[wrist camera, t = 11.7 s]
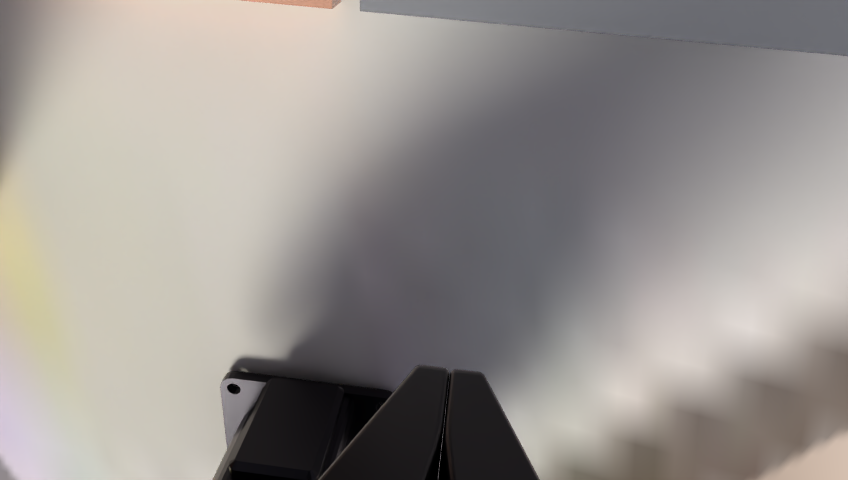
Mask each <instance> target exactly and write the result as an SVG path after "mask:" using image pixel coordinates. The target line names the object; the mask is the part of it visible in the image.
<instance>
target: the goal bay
mask: <svg viewBox="0 0 848 480" xmlns="http://www.w3.org/2000/svg"><path fill="white" fill-rule="evenodd" d="M242 1H252V2H263V3H274V4H285V5H296V6H307V7H318V8H329V9H333V8H334V7H335V6H336V5H338V4H339V3H340V2H341V0H242Z"/></svg>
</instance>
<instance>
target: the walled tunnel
mask: <svg viewBox="0 0 848 480" xmlns="http://www.w3.org/2000/svg"><path fill="white" fill-rule="evenodd" d="M360 11H365V12H376V13H386V14H397V15H408V16H419V17H430V18H441V19H452V20H462V21H473V22H484V23H495V24H506V25H517V26H528V27H539V28H549V29H560V30H571V31H582V32H593V33H604V34H615V35H626V36H636V37H647V38H658V39H669V40H680V41H691V42H702V43H712V44H723V45H734V46H745V47H756V48H767V49H778V50H789V51H799V52H810V53H821V54H832V55H843V56H848V0H360Z"/></svg>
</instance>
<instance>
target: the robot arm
mask: <svg viewBox="0 0 848 480" xmlns="http://www.w3.org/2000/svg"><path fill="white" fill-rule="evenodd" d="M448 382H449V386H448ZM233 384H236V385H238V386H239V387H237V386H234V385H233ZM447 391H448V395H447ZM221 397H222V406H223V415H224V424H225V433H226V443H227V451H226V453H225V455H224V457H223V459H222V461H221V463H220V465H219V467H218V469H217V471H216V474H215V476H214V478H213V480H540V479H539V477H538V475H537V474H536V472H535V470H534V468H533V466H532V464H531V462H530V460H529V458H528V457H527V455H526V453H525V451H524V449H523V447H522V445H521V443H520V441H519V439H518V438H517V436H516V434H515V432H514V430H513V428H512V426H511V424H510V422H509V421H508V419H507V417H506V415H505V413H504V411H503V409H502V407H501V405H500V403H499V402H498V400H497V398H496V396H495V394H494V392H493V390H492V388H491V386H490V385H489V383H488V381H487V379H486V377H485V376H484V374H482V373H481V372H476V371H468V370H460V369H454V370H452V371H451V372H450V377H449V371H448V369H446V368H443V367H435V366H427V365H418V366H416V367H415V368H414V369H413V370H412V372H411V373H410V374H409V375H408V376H407V377H406V378H405V380H404V381H403V382H402V383H401V384H400V385H399V387H398V388H397V389H396V390H395V391H394V392H393V393H392V392H390V391H386V390H380V389H373V388H365V387H357V386H349V385H341V384H333V383H325V382H318V381H310V380H302V379H294V378H286V377H278V376H271V375H263V374H255V373H247V372H239V371H231V372H229V373H227V374H226V376H225V377H224V379H223V381H222V383H221ZM446 400H447V404H446ZM380 403H384V404H383V405H381V404H380ZM445 409H446V413H445ZM444 418H445V422H444ZM443 427H444V431H443ZM442 436H443V440H442ZM441 445H442V449H441ZM440 454H441V458H440ZM439 463H440V467H439ZM438 472H439V476H438Z"/></svg>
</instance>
